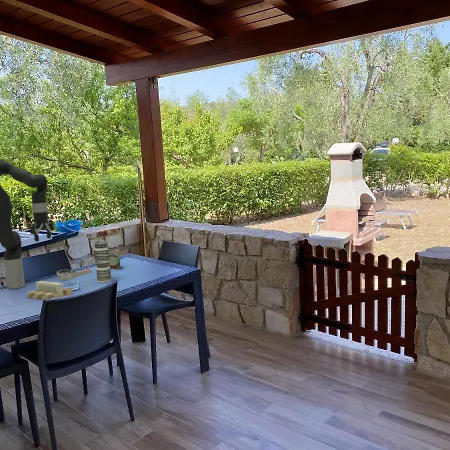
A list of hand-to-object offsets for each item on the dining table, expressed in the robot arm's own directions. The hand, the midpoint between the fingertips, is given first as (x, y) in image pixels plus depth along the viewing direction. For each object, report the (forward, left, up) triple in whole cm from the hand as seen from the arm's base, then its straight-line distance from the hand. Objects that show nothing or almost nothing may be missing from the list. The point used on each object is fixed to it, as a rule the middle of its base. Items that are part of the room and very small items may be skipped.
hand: (43, 239), depth 251 cm
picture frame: (+7, -6, -29) cm, 31 cm away
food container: (+5, +54, -30) cm, 62 cm away
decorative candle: (+17, +27, -30) cm, 44 cm away
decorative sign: (-14, +32, -31) cm, 47 cm away
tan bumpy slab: (+7, -6, -30) cm, 31 cm away
